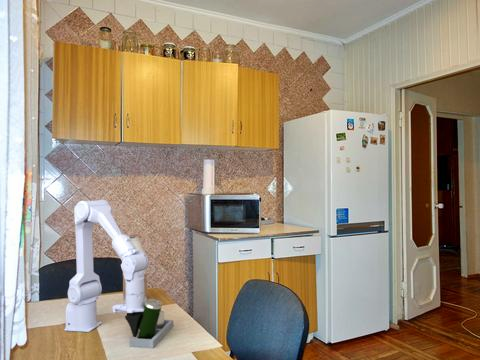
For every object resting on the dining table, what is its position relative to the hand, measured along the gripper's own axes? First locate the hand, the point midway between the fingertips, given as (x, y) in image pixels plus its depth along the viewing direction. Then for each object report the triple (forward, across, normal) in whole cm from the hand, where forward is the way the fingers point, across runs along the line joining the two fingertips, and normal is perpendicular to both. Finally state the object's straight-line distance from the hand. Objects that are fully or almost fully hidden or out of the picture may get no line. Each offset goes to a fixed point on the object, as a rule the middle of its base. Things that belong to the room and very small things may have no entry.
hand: (135, 335), depth 115 cm
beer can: (+1, +3, 0) cm, 3 cm away
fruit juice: (+2, -17, +34) cm, 39 cm away
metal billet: (+2, +4, +8) cm, 9 cm away
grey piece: (+1, +4, +4) cm, 6 cm away
